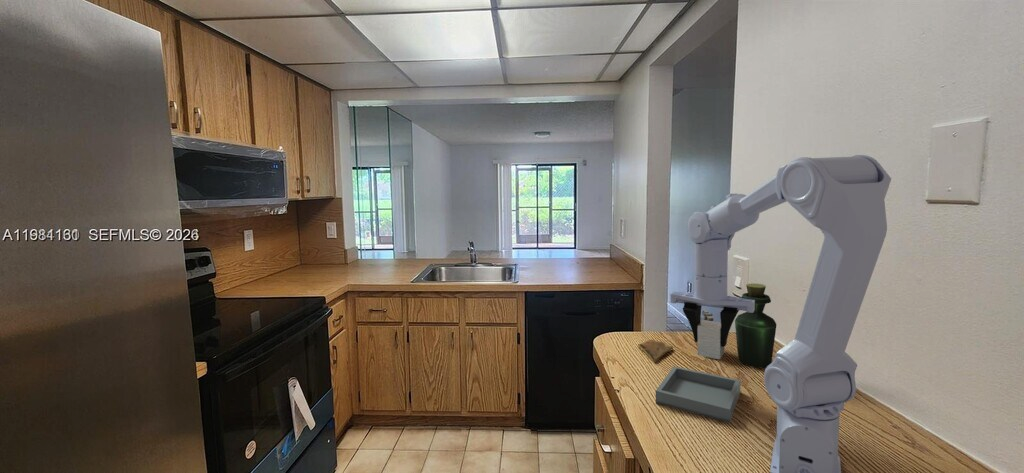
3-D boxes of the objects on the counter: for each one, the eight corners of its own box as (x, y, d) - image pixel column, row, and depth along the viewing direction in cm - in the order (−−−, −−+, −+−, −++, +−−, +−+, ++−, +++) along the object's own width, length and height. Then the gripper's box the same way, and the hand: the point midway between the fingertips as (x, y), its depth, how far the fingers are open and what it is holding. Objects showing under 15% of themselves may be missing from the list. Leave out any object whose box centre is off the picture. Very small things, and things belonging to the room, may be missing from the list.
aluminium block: (720, 359, 77) (720, 328, 76) (697, 355, 79) (697, 325, 79) (724, 352, 80) (724, 322, 79) (702, 348, 82) (702, 319, 82)
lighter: (720, 359, 95) (720, 318, 94) (704, 358, 96) (705, 317, 95) (710, 346, 103) (711, 308, 102) (696, 345, 104) (696, 307, 103)
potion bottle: (768, 373, 87) (770, 291, 85) (728, 362, 93) (729, 286, 91) (780, 361, 92) (782, 284, 90) (742, 352, 98) (743, 279, 96)
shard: (654, 365, 94) (654, 358, 94) (624, 357, 100) (624, 350, 100) (674, 351, 102) (674, 344, 102) (645, 344, 107) (645, 337, 107)
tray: (729, 423, 70) (729, 409, 70) (655, 403, 77) (655, 390, 77) (740, 392, 80) (740, 380, 80) (674, 377, 87) (673, 366, 87)
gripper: (757, 273, 76) (756, 342, 78) (677, 267, 85) (677, 330, 87) (752, 281, 71) (751, 355, 72) (667, 274, 80) (667, 340, 81)
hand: (710, 342), depth 79 cm, fingers closed on aluminium block, 4 cm apart
